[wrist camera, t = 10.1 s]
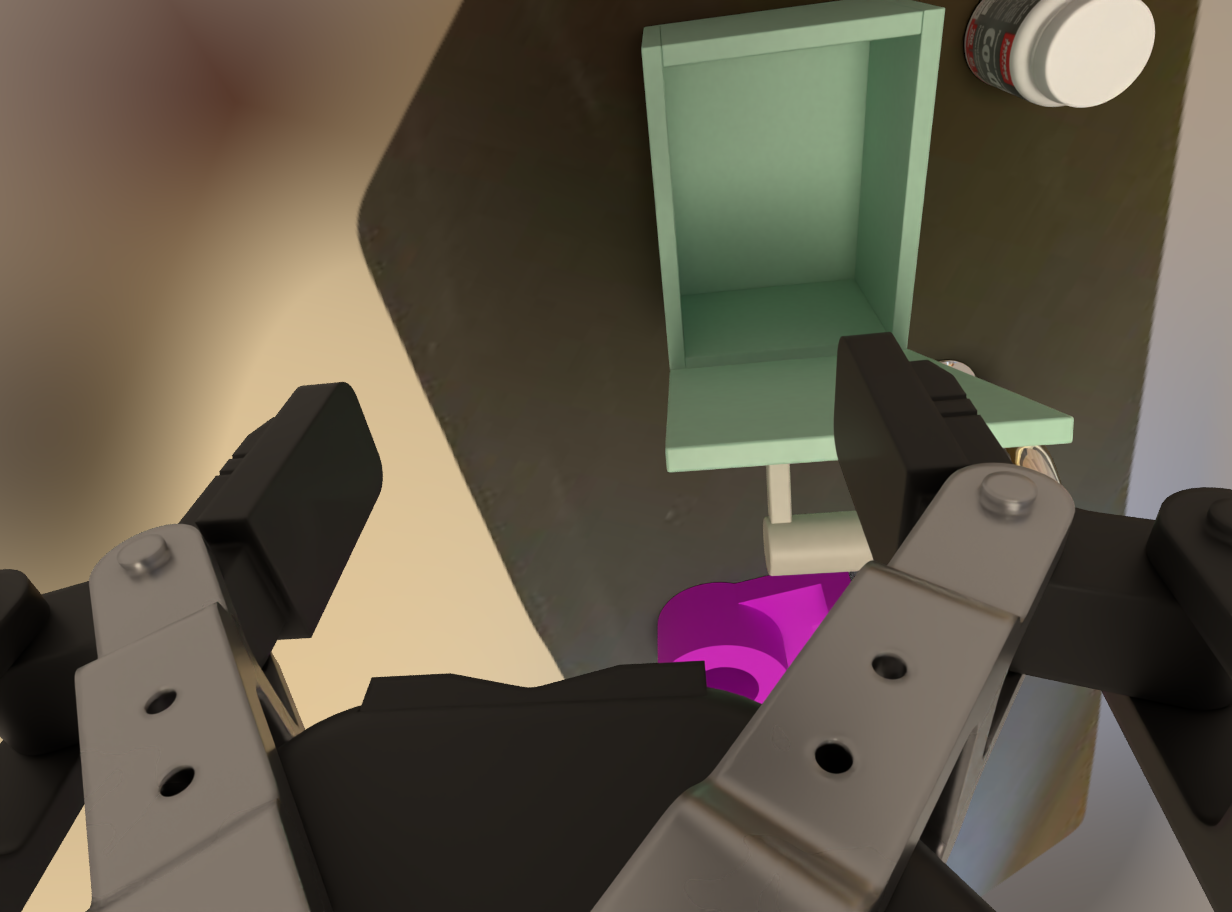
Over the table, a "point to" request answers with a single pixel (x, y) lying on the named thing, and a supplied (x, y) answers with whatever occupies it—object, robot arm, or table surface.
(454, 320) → the table surface
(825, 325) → the bin
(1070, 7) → the pill bottle
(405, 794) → the robot arm
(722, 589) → the tape dispenser
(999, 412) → the bin lid
